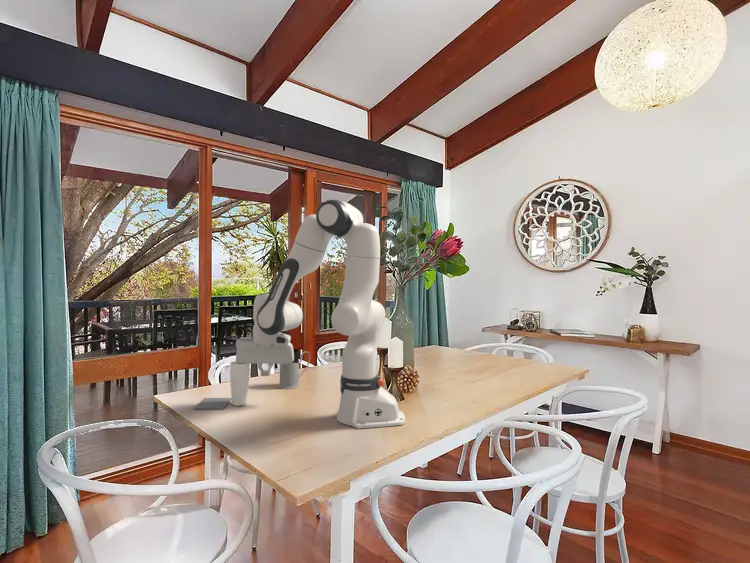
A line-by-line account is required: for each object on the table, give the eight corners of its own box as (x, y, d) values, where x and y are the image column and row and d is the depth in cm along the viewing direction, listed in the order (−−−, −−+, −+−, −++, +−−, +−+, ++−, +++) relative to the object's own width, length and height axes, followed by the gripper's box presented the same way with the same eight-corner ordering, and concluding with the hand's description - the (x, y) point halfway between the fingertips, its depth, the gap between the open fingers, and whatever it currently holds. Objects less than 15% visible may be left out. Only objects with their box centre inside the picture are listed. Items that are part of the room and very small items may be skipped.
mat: (232, 399, 157) (232, 397, 157) (223, 409, 145) (223, 408, 145) (204, 399, 156) (204, 397, 156) (193, 409, 144) (193, 408, 144)
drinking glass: (239, 400, 156) (239, 359, 156) (253, 402, 153) (253, 361, 153) (225, 405, 150) (225, 363, 150) (239, 408, 147) (240, 365, 147)
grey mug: (274, 385, 176) (275, 350, 176) (304, 380, 186) (304, 346, 185) (285, 390, 170) (285, 353, 169) (315, 384, 179) (315, 349, 179)
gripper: (233, 338, 148) (233, 377, 148) (292, 338, 149) (292, 377, 150) (238, 335, 154) (237, 373, 154) (294, 336, 156) (294, 373, 156)
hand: (265, 375), depth 152 cm, fingers closed
